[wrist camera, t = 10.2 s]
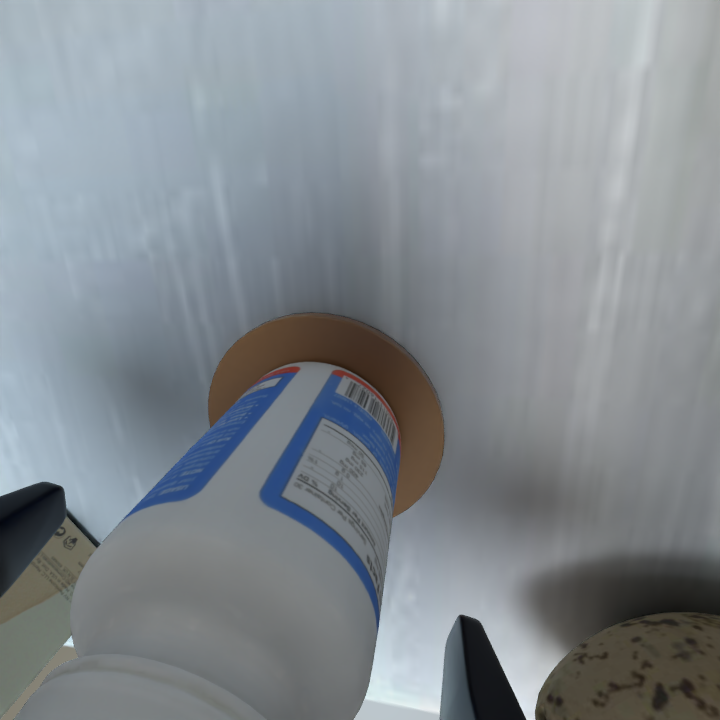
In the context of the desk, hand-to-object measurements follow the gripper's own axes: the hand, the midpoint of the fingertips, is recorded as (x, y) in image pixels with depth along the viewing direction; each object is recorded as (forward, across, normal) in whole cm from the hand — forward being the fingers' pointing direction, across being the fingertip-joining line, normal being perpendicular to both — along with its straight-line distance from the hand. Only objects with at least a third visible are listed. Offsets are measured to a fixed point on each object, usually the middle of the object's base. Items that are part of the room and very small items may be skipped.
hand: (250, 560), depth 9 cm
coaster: (+6, 0, 0) cm, 6 cm away
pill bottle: (+5, 0, 0) cm, 5 cm away
